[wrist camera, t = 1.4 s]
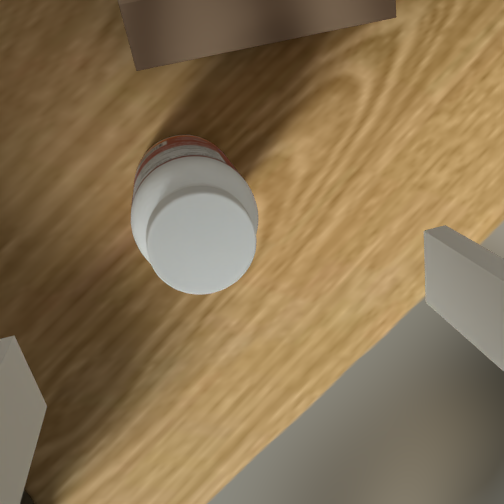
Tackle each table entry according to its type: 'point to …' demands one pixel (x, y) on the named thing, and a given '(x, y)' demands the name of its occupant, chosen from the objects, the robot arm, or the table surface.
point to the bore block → (234, 24)
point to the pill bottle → (193, 215)
